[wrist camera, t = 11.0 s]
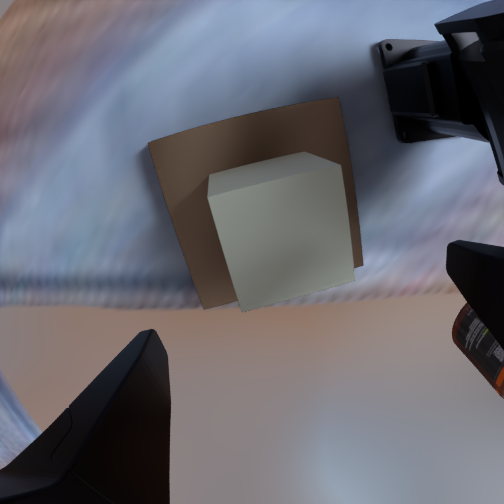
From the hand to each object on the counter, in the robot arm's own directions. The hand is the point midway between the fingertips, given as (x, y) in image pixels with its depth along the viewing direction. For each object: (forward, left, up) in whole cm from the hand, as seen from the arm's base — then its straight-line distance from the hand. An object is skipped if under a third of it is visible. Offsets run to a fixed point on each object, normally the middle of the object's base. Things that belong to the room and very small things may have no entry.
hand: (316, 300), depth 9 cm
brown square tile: (0, 0, -10) cm, 10 cm away
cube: (0, 0, -9) cm, 9 cm away
